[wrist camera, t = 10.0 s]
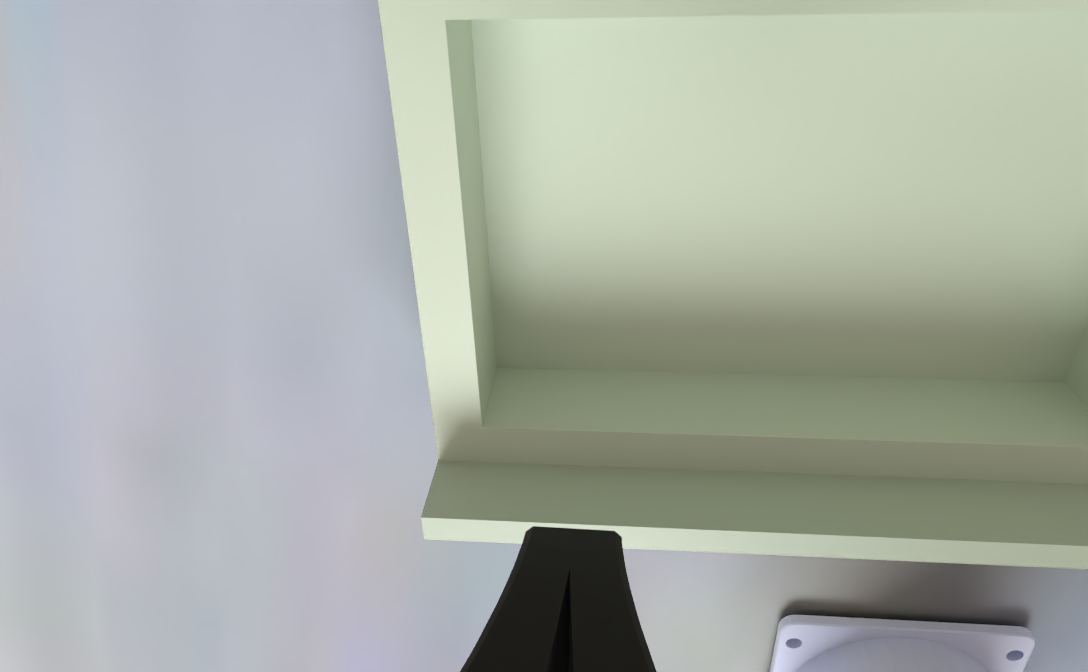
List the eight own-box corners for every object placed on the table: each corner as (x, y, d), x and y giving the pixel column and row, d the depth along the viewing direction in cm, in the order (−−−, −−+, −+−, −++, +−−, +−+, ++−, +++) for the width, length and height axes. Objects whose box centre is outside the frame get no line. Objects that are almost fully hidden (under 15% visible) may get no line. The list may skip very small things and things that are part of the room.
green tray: (1079, 424, 22) (1194, 574, 17) (462, 406, 23) (424, 538, 19) (1307, -129, 15) (1596, -114, 10) (409, -103, 16) (329, -80, 12)
